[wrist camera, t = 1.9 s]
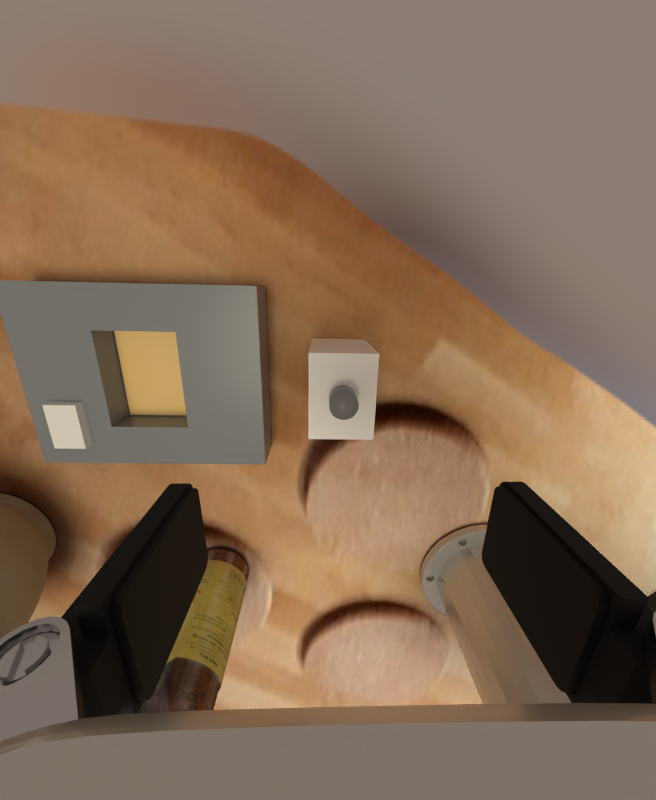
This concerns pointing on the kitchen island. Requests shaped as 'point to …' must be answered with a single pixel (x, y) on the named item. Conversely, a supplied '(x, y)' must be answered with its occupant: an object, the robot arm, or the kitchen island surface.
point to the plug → (342, 389)
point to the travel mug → (652, 602)
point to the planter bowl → (22, 560)
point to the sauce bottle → (203, 639)
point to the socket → (142, 370)
